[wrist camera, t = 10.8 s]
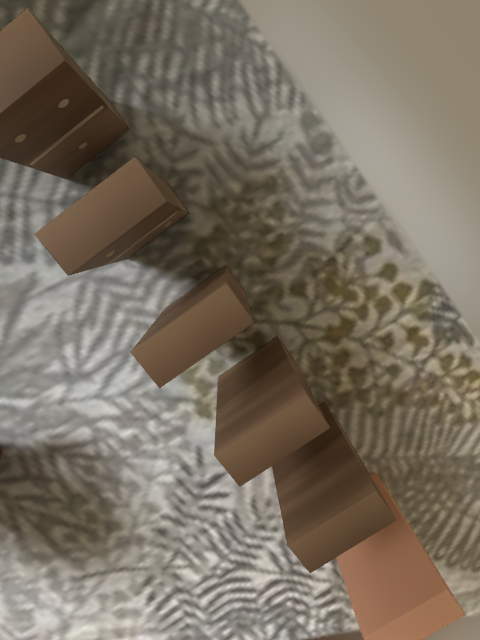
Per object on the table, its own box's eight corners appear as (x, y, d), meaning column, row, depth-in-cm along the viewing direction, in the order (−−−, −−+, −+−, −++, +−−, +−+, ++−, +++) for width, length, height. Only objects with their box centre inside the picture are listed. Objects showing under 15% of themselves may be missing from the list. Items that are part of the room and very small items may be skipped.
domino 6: (319, 507, 30) (363, 638, 21) (374, 472, 30) (446, 589, 20) (333, 526, 31) (384, 663, 21) (389, 492, 30) (466, 616, 21)
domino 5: (266, 439, 29) (287, 545, 19) (324, 401, 28) (375, 490, 19) (282, 460, 29) (311, 574, 20) (340, 423, 29) (397, 521, 19)
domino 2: (107, 233, 25) (34, 234, 16) (170, 185, 25) (134, 156, 15) (128, 260, 26) (69, 277, 16) (190, 214, 25) (168, 203, 16)
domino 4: (218, 376, 28) (214, 455, 18) (277, 336, 27) (306, 394, 18) (235, 399, 28) (241, 488, 18) (294, 359, 28) (331, 429, 18)
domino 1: (44, 150, 24) (-78, 96, 15) (108, 99, 24) (27, 8, 14) (67, 180, 25) (-37, 147, 15) (131, 130, 24) (66, 62, 14)
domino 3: (165, 308, 27) (130, 352, 17) (226, 264, 26) (226, 283, 16) (184, 332, 27) (160, 389, 17) (244, 290, 27) (255, 324, 17)
